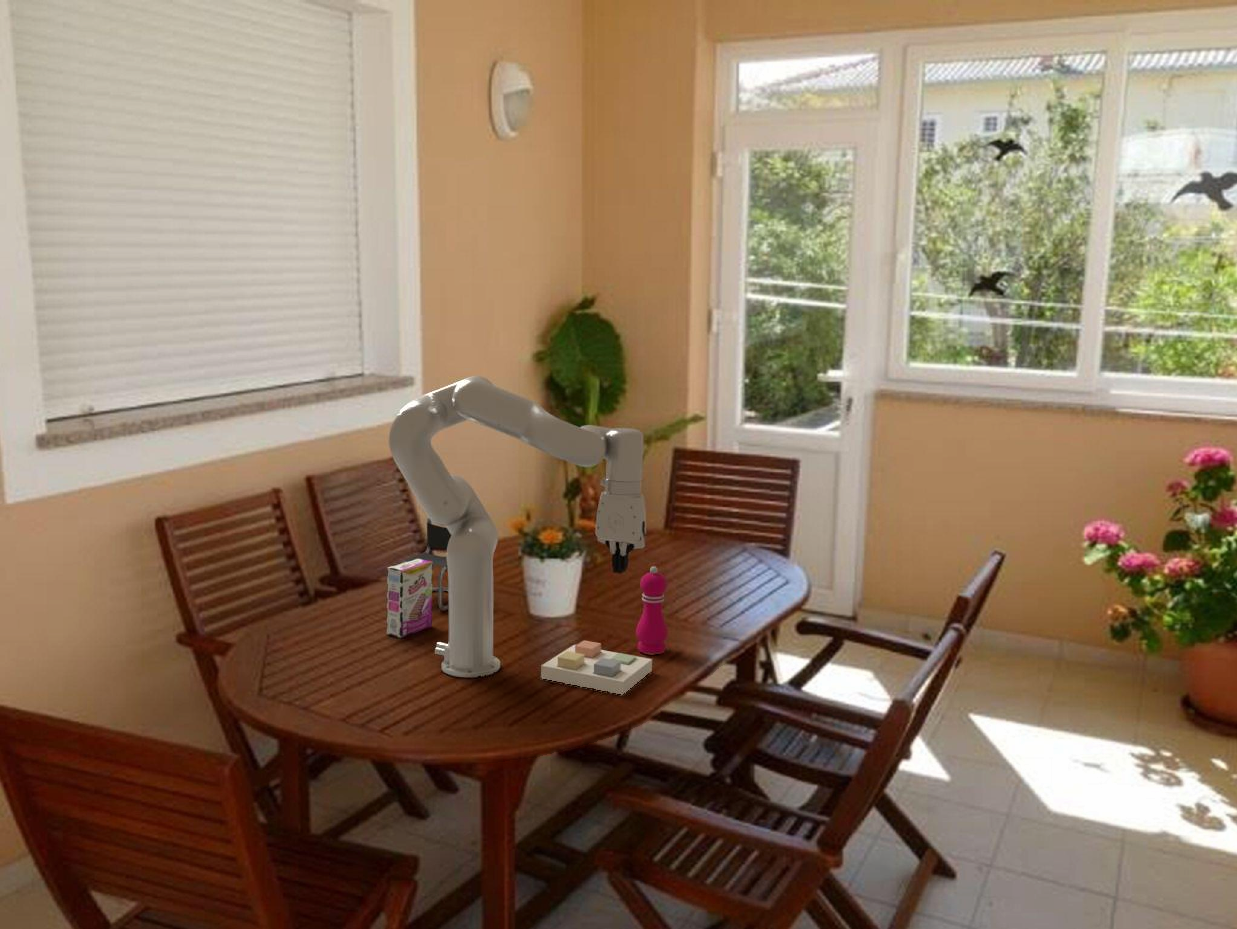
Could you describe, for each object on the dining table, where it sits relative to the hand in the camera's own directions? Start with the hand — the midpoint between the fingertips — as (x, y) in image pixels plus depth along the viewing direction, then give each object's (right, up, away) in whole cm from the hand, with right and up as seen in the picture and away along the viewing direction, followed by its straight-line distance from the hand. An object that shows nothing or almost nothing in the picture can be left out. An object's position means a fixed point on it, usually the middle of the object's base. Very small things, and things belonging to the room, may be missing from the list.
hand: (619, 571), depth 230 cm
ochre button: (-10, -20, -1) cm, 23 cm away
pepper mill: (+7, -20, +17) cm, 27 cm away
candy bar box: (-50, -17, +27) cm, 59 cm away
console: (-5, -22, +1) cm, 23 cm away
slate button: (-3, -21, -5) cm, 22 cm away
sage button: (+1, -21, +3) cm, 21 cm away
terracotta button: (-7, -19, +6) cm, 21 cm away
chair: (-47, -13, +51) cm, 71 cm away
